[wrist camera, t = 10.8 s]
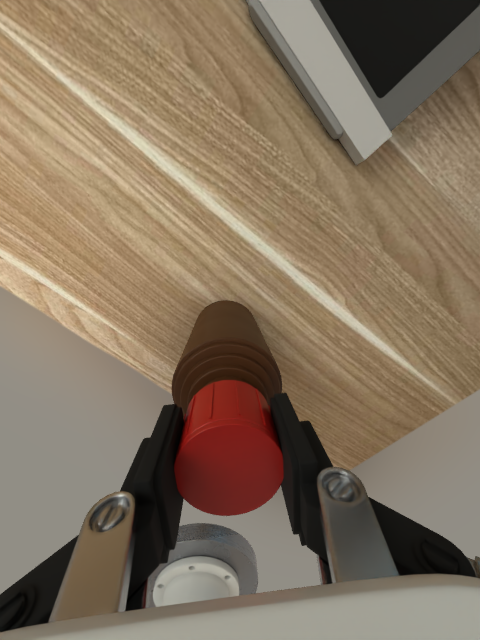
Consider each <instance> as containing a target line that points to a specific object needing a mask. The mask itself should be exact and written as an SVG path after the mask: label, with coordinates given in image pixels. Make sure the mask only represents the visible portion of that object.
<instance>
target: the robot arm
mask: <svg viewBox="0 0 480 640" xmlns="http://www.w3.org/2000/svg"><path fill="white" fill-rule="evenodd" d="M270 411H271V416H272V420H273V423H274V426H275V430H276V433H277V436H278V440H279V443H280V447H281V450H282V454H283V477H284V478H283V481H282V483H281V487H282V491H283V495H284V499H285V503H286V507H287V511H288V515H289V519H290V523H291V527H292V531H293V534H299V537H300V541H301V545H302V546H304V545H307V547H308V548H309V549H311V550H312V551H313V552H315V553H316V554H317V561H318V568H319V575H320V581H321V585H317V586H310V587H302V588H294V589H286V590H278V591H270V592H263V593H255V594H248V595H240V596H239V579H238V576H237V574H236V572H235V571H234V570H233V568H232V567H230V566H229V565H228V564H227V563H225V562H223V561H222V560H219V559H216V558H213V557H207V556H192V557H187V558H182V559H180V560H177V561H175V562H173V563H171V564H170V565H168V566H167V567H166V568H164V569H163V570H162V571H161V572H160V574H159V575H158V577H157V579H156V581H155V585H154V589H153V600H154V604H155V605H156V607H153V608H150V595H151V581H152V575H151V574H152V573H153V572H154V571H155V570H156V568H157V567H158V566H159V564H164V563H168V558H169V552H170V550H174V549H175V546H176V541H177V535H178V529H179V523H180V517H181V511H182V505H183V499H184V498H183V497H182V496H181V494H180V493H179V491H178V488H177V483H176V477H175V471H174V463H175V459H176V454H177V450H178V446H179V442H180V437H181V433H182V429H183V425H184V418H183V412H182V407H178V406H177V404H172V405H164V406H163V408H162V411H161V413H160V416H159V418H158V420H157V423H156V425H155V428H154V431H153V433H152V435H151V438H145V439H143V441H142V443H141V445H140V447H139V450H138V452H137V454H136V456H135V458H134V461H133V463H132V466H131V468H130V470H129V472H128V474H127V476H126V479H125V481H124V483H123V486H122V488H121V490H120V492H114V493H112V494H110V495H107V496H105V497H104V498H102V499H100V500H99V501H98V502H97V503H96V504H95V505H94V506H93V507H92V508H91V509H90V511H89V512H88V514H87V515H86V518H85V519H84V522H83V525H82V528H81V530H80V533H79V535H78V536H77V537H75V538H74V539H73V540H71V541H70V542H69V543H67V544H66V545H65V546H63V547H62V548H61V549H59V550H58V551H57V552H55V553H54V554H53V555H52V556H50V557H49V558H48V559H46V560H45V561H44V562H42V563H41V564H40V565H38V566H37V567H36V568H34V569H33V570H32V571H31V572H29V573H28V574H26V575H25V576H24V577H23V578H21V579H20V580H19V581H17V582H16V583H15V584H13V585H12V586H11V587H9V588H8V589H7V590H5V591H4V592H3V593H2V594H1V595H0V640H480V558H479V557H477V556H476V557H475V560H472V559H470V558H467V557H466V556H465V555H464V554H463V553H462V551H461V550H460V549H458V548H457V547H456V546H455V545H454V544H453V543H451V542H450V541H449V540H447V539H446V538H444V537H443V536H441V535H439V534H437V533H435V532H433V531H431V530H430V529H428V528H426V527H424V526H422V525H420V524H418V523H416V522H414V521H413V520H411V519H409V518H407V517H405V516H403V515H401V514H400V513H398V512H396V511H394V510H392V509H390V508H388V507H386V506H385V505H383V504H381V503H378V502H377V501H375V500H373V499H371V498H370V497H368V495H367V493H366V490H365V488H364V486H363V484H362V482H361V480H360V479H359V478H358V477H357V476H356V475H355V474H353V473H352V472H350V471H348V470H346V469H343V468H339V467H333V465H332V463H331V461H330V459H329V458H328V456H327V454H326V452H325V450H324V448H323V446H322V444H321V442H320V440H319V438H318V436H317V434H316V432H315V431H314V429H313V427H312V425H311V423H310V422H309V421H301V422H299V420H298V417H297V415H296V413H295V411H294V409H293V406H292V404H291V402H290V400H289V398H288V395H287V394H286V393H280V394H274V397H272V398H270Z"/></svg>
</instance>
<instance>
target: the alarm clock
mask: <svg viewBox="0 0 480 640" xmlns="http://www.w3.org/2000/svg"><path fill="white" fill-rule="evenodd" d="M246 2H247V3H248V5H249V12H250V16H251V18H252V20H253V22H254V23H255V25H256V26H257V28H258V29H259V31H260V32H261V34H262V35H263V37H264V38H265V40H266V41H267V43H268V44H269V46H270V47H271V49H272V50H273V51H274V53H275V54H276V56H277V57H278V59H279V60H280V62H281V63H282V65H283V66H284V68H285V69H286V71H287V72H288V74H289V75H290V77H291V78H292V80H293V81H294V83H295V84H296V86H297V87H298V89H299V90H300V91H301V93H302V94H303V96H304V97H305V99H306V100H307V102H308V103H309V105H310V106H311V108H312V109H313V111H314V112H315V114H316V115H317V117H318V118H319V120H320V121H321V123H322V124H323V126H324V127H325V128H326V130H327V131H328V133H329V134H330V136H331V137H332V138H333V139H339V141H340V142H341V144H342V145H343V147H344V148H345V150H346V151H347V153H348V154H349V156H350V157H351V159H352V160H353V162H354V163H355V165H357V164H359V163H361V162H362V161H364V160H365V159H366V158H367V157H369V156H370V155H371V154H372V153H373V152H374V151H375V150H376V149H377V148H379V147H380V146H381V145H382V144H383V143H384V142H385V141H386V140H388V139H389V138H390V137H391V136H392V134H391V131H392V130H393V129H394V128H395V127H396V126H397V125H398V124H399V123H401V122H402V121H403V120H404V119H405V118H406V117H407V116H408V115H409V114H410V113H412V112H413V111H414V110H415V109H416V108H417V107H418V106H419V105H420V104H422V103H423V102H424V101H425V100H426V99H427V98H428V97H429V96H430V95H431V94H433V93H434V92H435V91H436V90H437V89H438V88H439V87H440V86H441V85H442V84H443V83H445V82H446V81H447V80H448V79H449V78H450V77H451V76H452V75H453V74H454V73H456V72H457V71H458V70H459V69H460V68H461V67H462V66H463V65H464V64H465V63H466V62H467V61H469V60H470V59H471V58H472V57H473V56H474V55H475V54H476V53H477V52H478V51H479V50H480V0H246Z"/></svg>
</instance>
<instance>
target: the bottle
mask: <svg viewBox="0 0 480 640" xmlns="http://www.w3.org/2000/svg"><path fill="white" fill-rule="evenodd" d="M222 380H237V381H242V382H245V383H247V384H249V385H251V386H253V387H254V388H256V389H257V390H258V391H259V392H260V393H261V394H262V395H263V396H264V398H265V399H266V401H267V404H268V405H269V406H270V398H272V397H274V394H280V393H281V392H282V379H281V375H280V371H279V369H278V366H277V364H276V362H275V360H274V358H273V356H272V354H271V352H270V350H269V348H268V346H267V344H266V342H265V340H264V338H263V336H262V333H261V331H260V329H259V327H258V325H257V323H256V321H255V319H254V317H253V315H252V314H251V312H250V311H249V310H248V309H247V308H246V307H244V306H243V305H241V304H239V303H237V302H234V301H218V302H215V303H213V304H211V305H209V306H207V307H206V308H205V309H204V310H203V311H202V312H201V313H200V315H199V317H198V319H197V321H196V323H195V326H194V328H193V330H192V332H191V335H190V337H189V339H188V342H187V344H186V346H185V349H184V351H183V353H182V356H181V358H180V360H179V363H178V365H177V367H176V370H175V373H174V375H173V380H172V396H173V400H174V403H175V404H177V406H178V407H182V412H183V418H184V415H185V414H186V413H187V409H188V406H189V403H190V402H191V400H192V398H193V396H194V395H195V394H196V393H197V392H198V391H200V390H201V389H202V388H204V387H205V386H207V385H209V384H211V383H214V382H217V381H222Z"/></svg>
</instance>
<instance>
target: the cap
mask: <svg viewBox="0 0 480 640" xmlns="http://www.w3.org/2000/svg"><path fill="white" fill-rule="evenodd" d="M174 471H175V477H176V483H177V488H178V491H179V493H180V494H181V496H182V497H183V498H184V499H185V500H186V501H187V502H188V503H189V504H190V505H192V506H193V507H195V508H197V509H199V510H201V511H203V512H206V513H210V514H214V515H221V516H230V515H239V514H243V513H247V512H250V511H252V510H255V509H257V508H258V507H260V506H262V505H263V504H265V503H266V502H267V501H269V500H270V499H271V498H272V497H273V495H274V494H275V493H276V492H277V490H278V489H279V487H280V485H281V483H282V481H283V478H284V477H283V454H282V450H281V447H280V443H279V440H278V436H277V433H276V430H275V426H274V423H273V420H272V416H271V411H270V406H269V405H268V404H267V401H266V399H265V398H264V396H263V395H262V394H261V393H260V392H259V391H258V390H257V389H256V388H254V387H253V386H251V385H249V384H247V383H245V382H242V381H237V380H222V381H217V382H214V383H211V384H209V385H207V386H205V387H204V388H202V389H201V390H200V391H198V392H197V393H196V394H195V395H194V396H193V398H192V400H191V402H190V403H189V406H188V409H187V413H186V414H185V415H184V425H183V429H182V433H181V437H180V442H179V446H178V450H177V454H176V459H175V463H174Z"/></svg>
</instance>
